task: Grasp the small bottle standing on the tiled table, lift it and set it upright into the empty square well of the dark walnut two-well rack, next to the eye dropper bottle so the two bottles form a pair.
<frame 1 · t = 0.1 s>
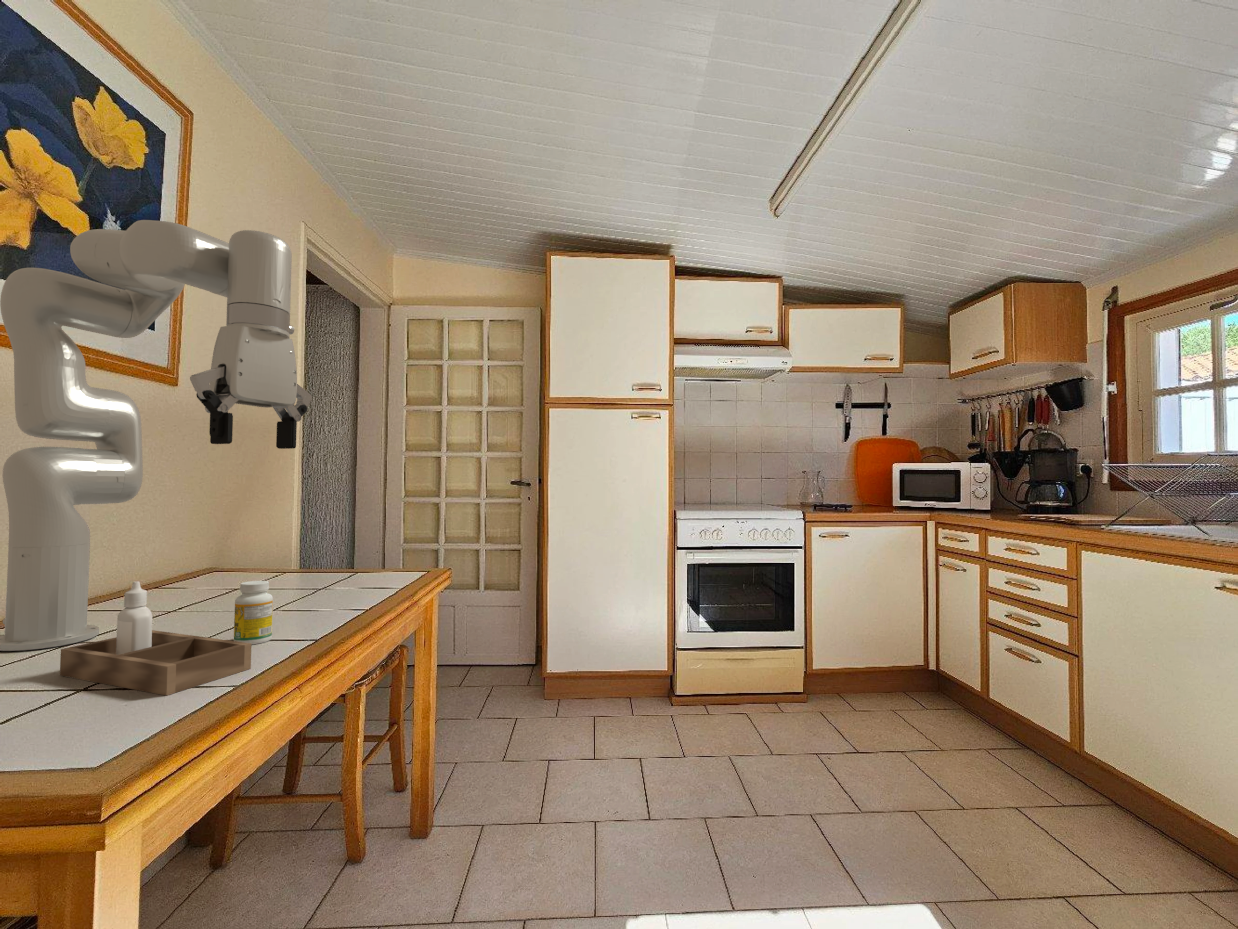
hand: (255, 446, 80), 31 cm above the table, fingers open, 9 cm apart
eye dropper bottle: (133, 669, 81), resting in walnut rack
supplement bottle: (253, 642, 95), on the table
walnut rack: (157, 672, 79), on the table
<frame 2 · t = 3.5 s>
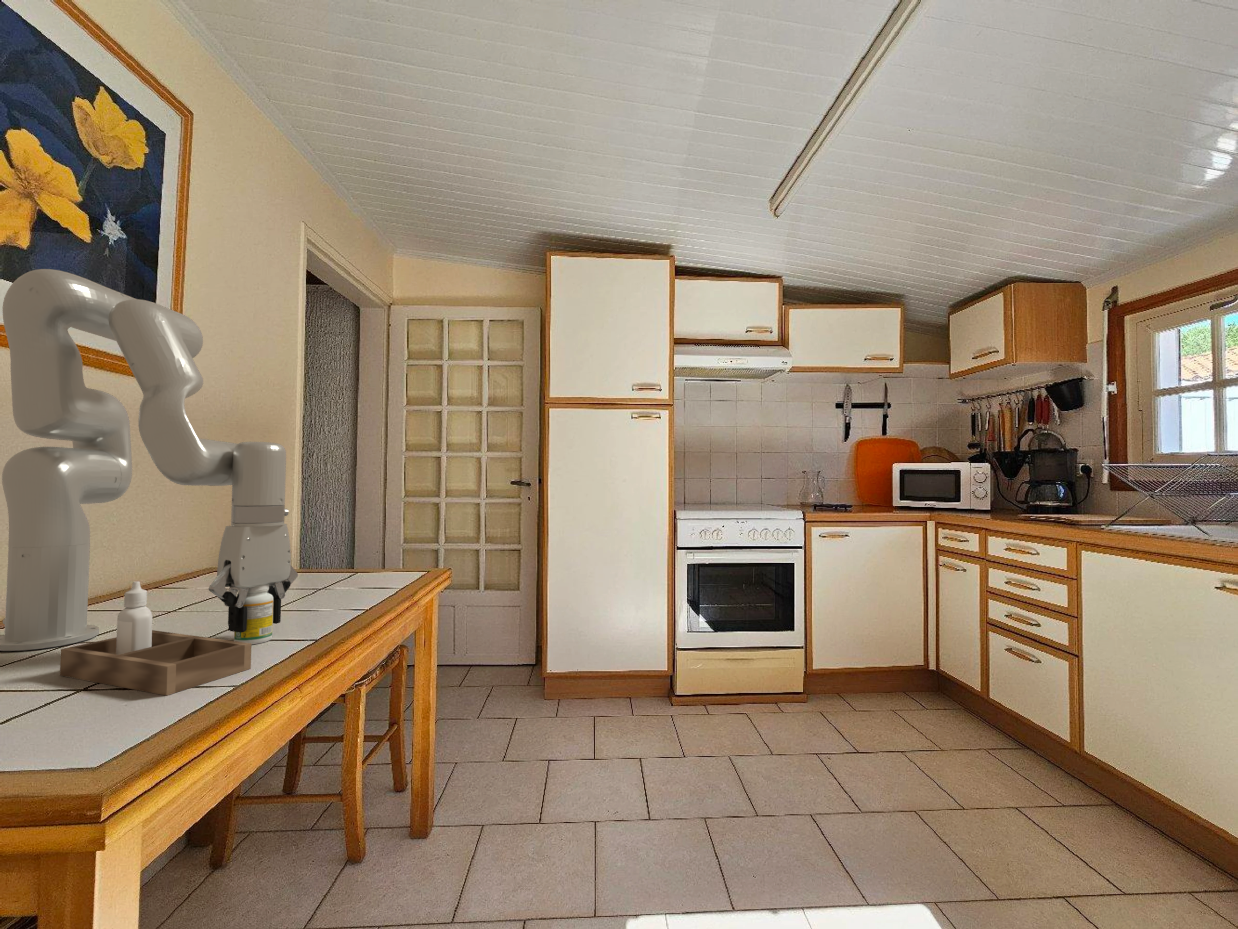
hand: (255, 625, 95), 2 cm above the table, fingers closed on supplement bottle, 5 cm apart
supplement bottle: (253, 642, 95), on the table, touching gripper
everything else where it was.
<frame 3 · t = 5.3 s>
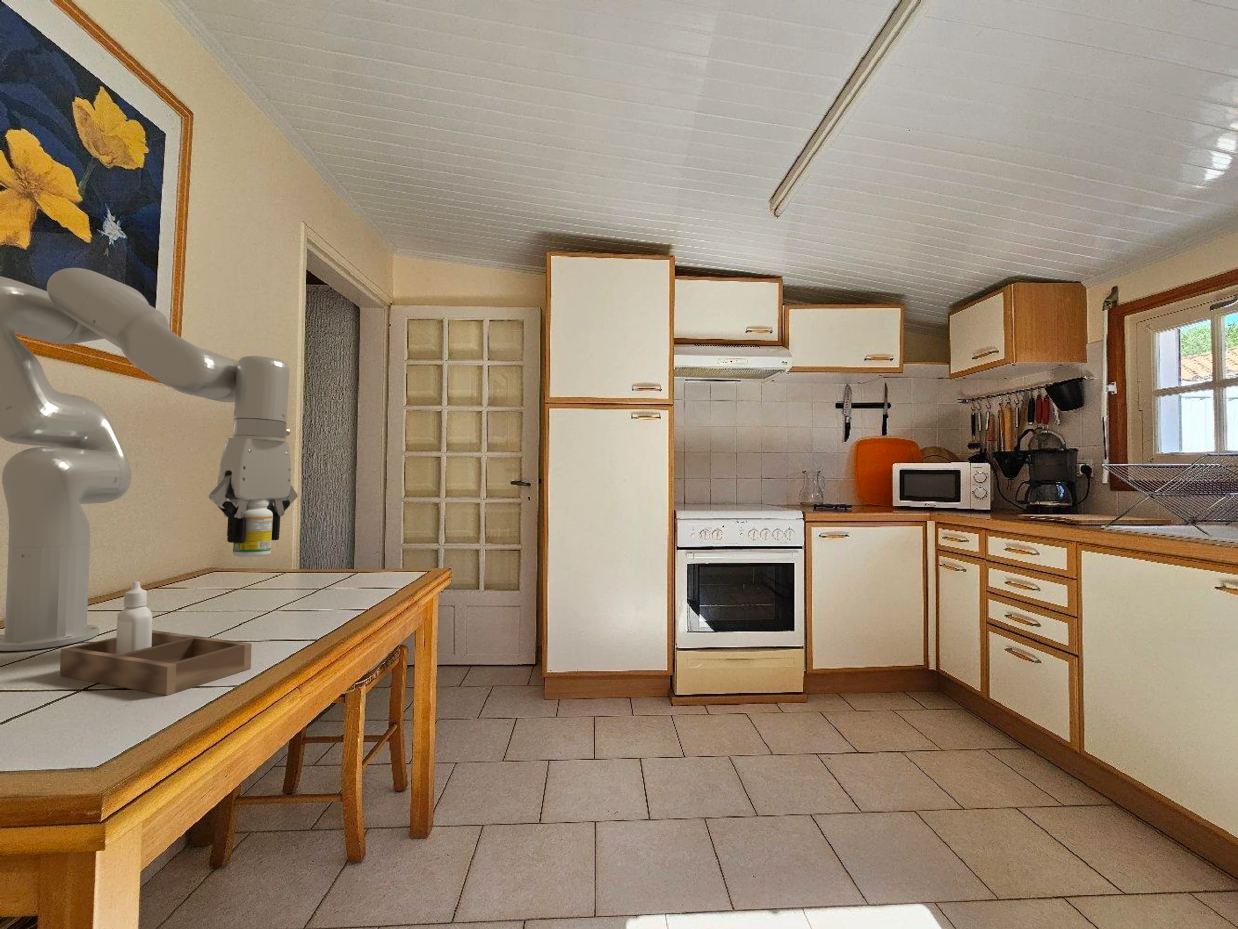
hand: (253, 540, 95), 17 cm above the table, fingers closed on supplement bottle, 5 cm apart
supplement bottle: (251, 556, 95), point 14 cm above the table, touching gripper
everything else where it was.
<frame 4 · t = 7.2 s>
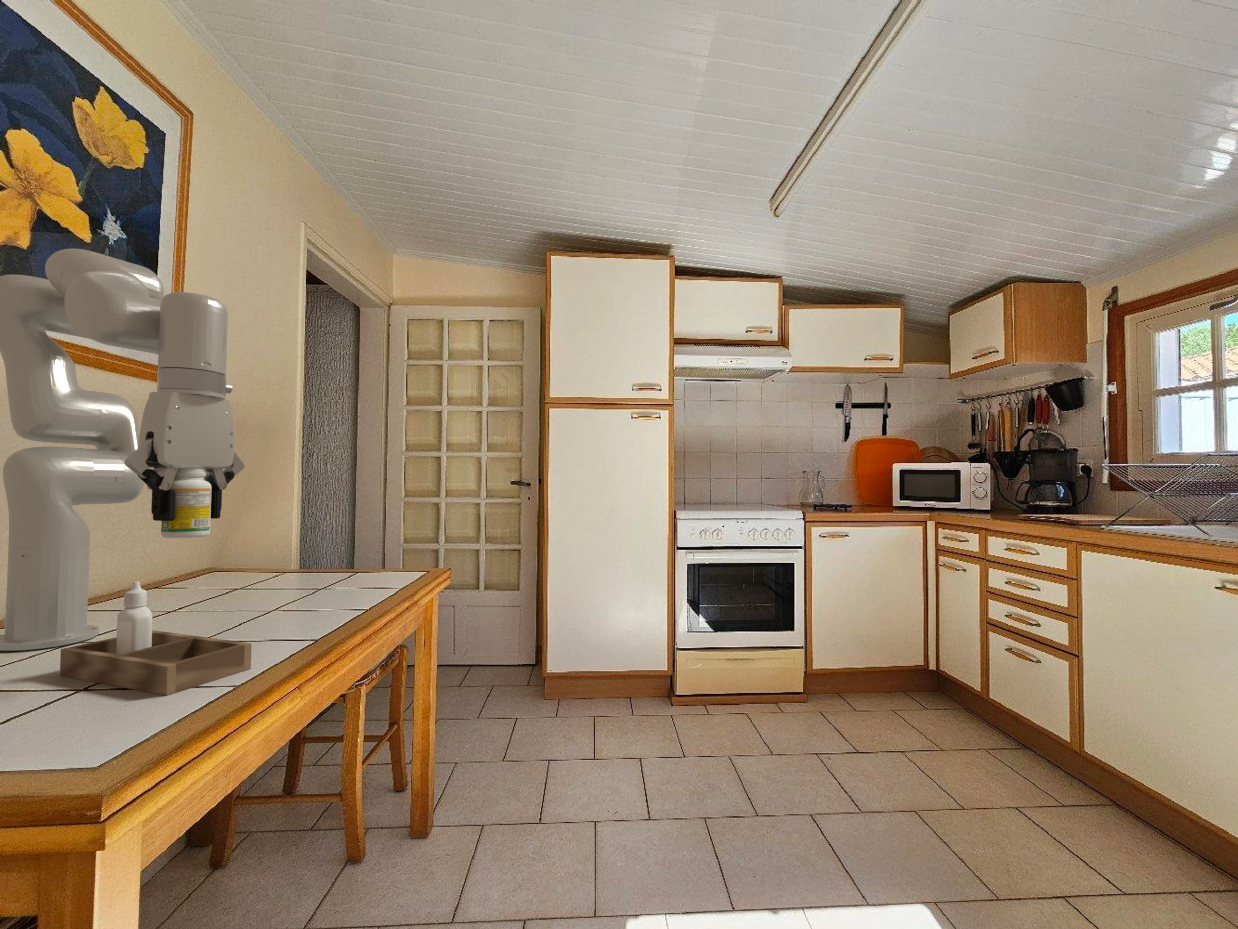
hand: (187, 518, 78), 21 cm above the table, fingers closed on supplement bottle, 5 cm apart
supplement bottle: (185, 537, 78), point 18 cm above the table, touching gripper
everything else where it was.
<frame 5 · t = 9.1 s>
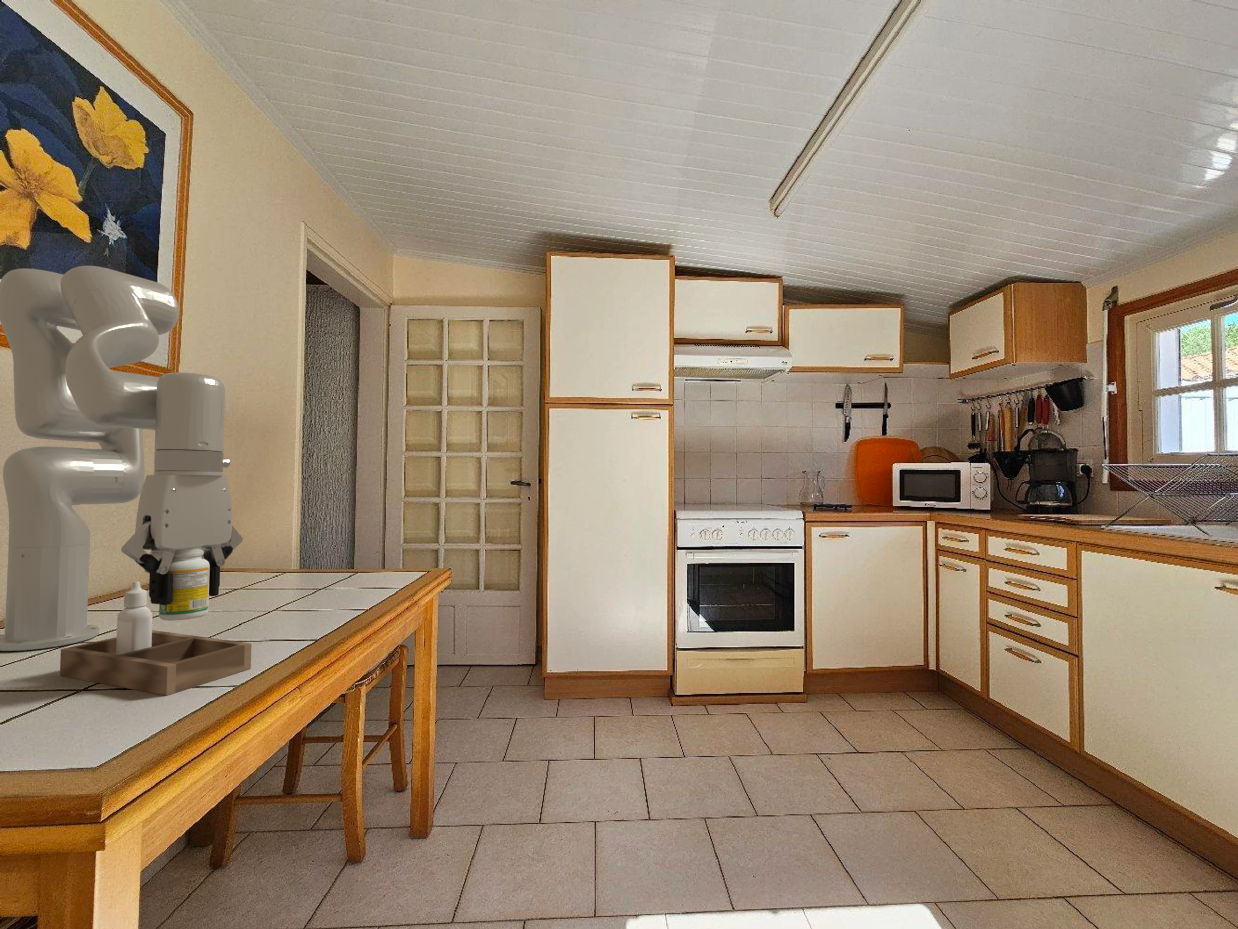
hand: (185, 598, 78), 10 cm above the table, fingers closed on supplement bottle, 5 cm apart
supplement bottle: (184, 618, 78), point 8 cm above the table, touching gripper
everything else where it was.
when the fingers open (4 cm above the table, at t = 10.7 s): supplement bottle drops 2 cm, resting in walnut rack.
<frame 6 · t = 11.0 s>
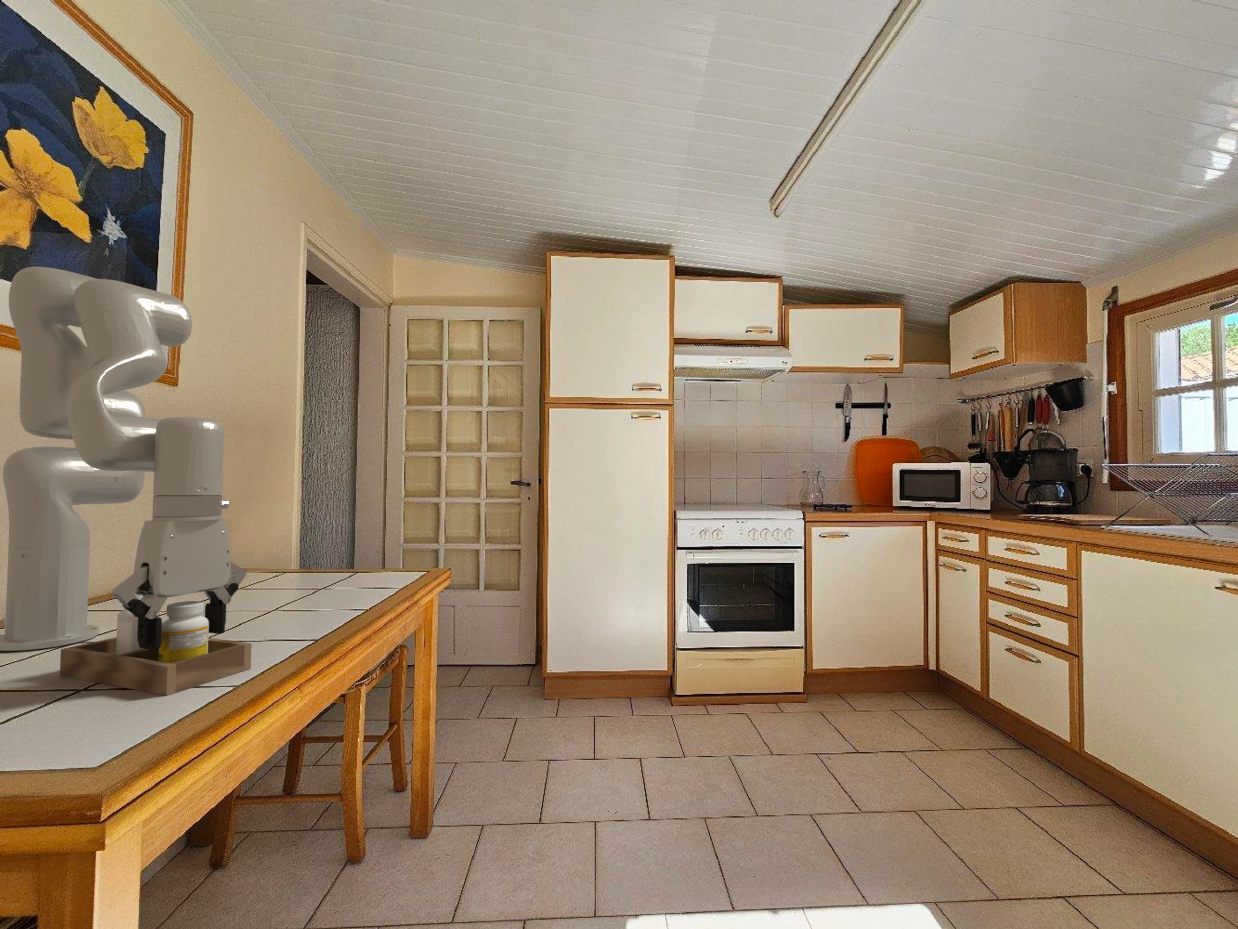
hand: (183, 639, 77), 5 cm above the table, fingers open, 7 cm apart
supplement bottle: (182, 676, 78), resting in walnut rack
everything else where it was.
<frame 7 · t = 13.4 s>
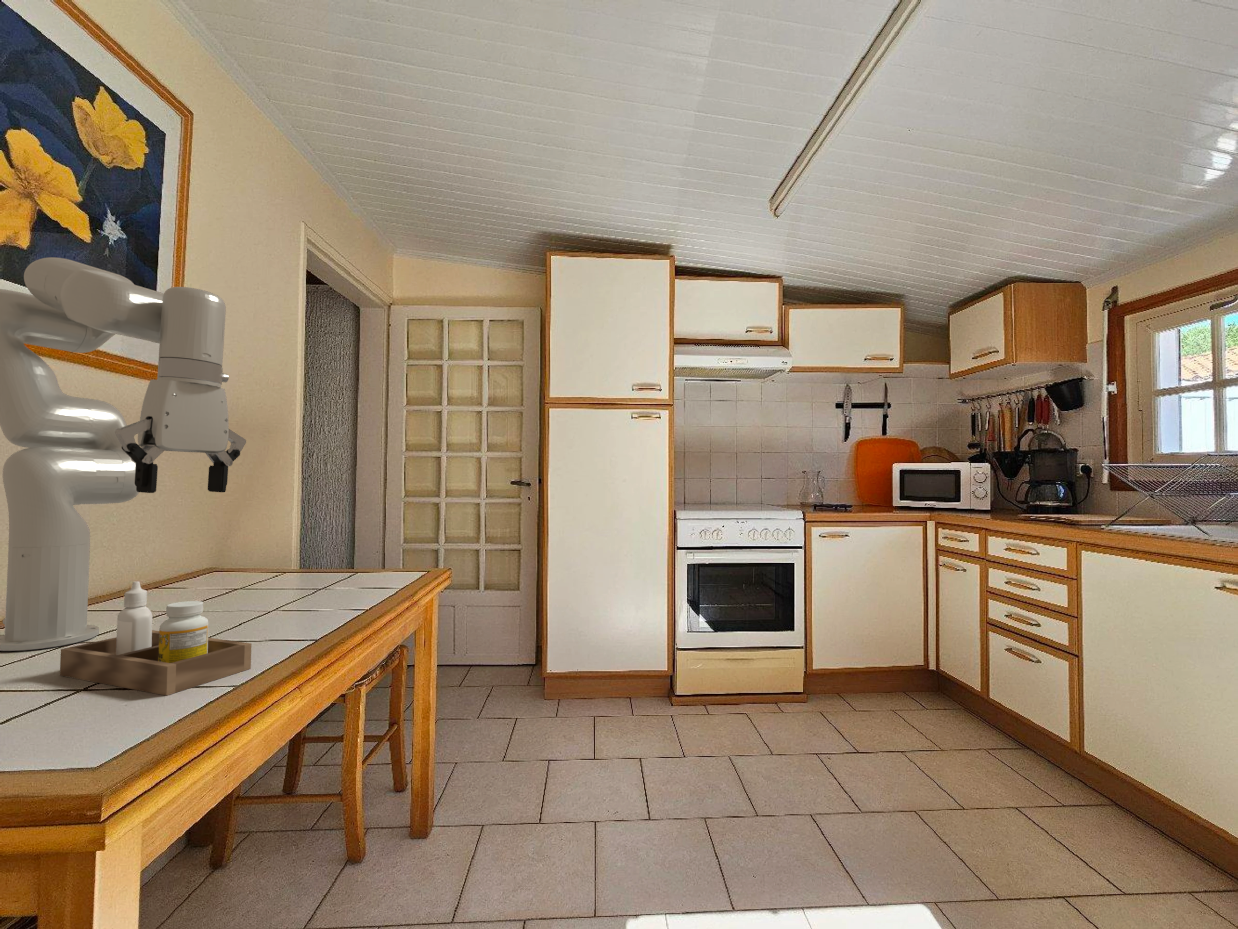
hand: (183, 492, 84), 25 cm above the table, fingers open, 9 cm apart
nothing on the table moved.
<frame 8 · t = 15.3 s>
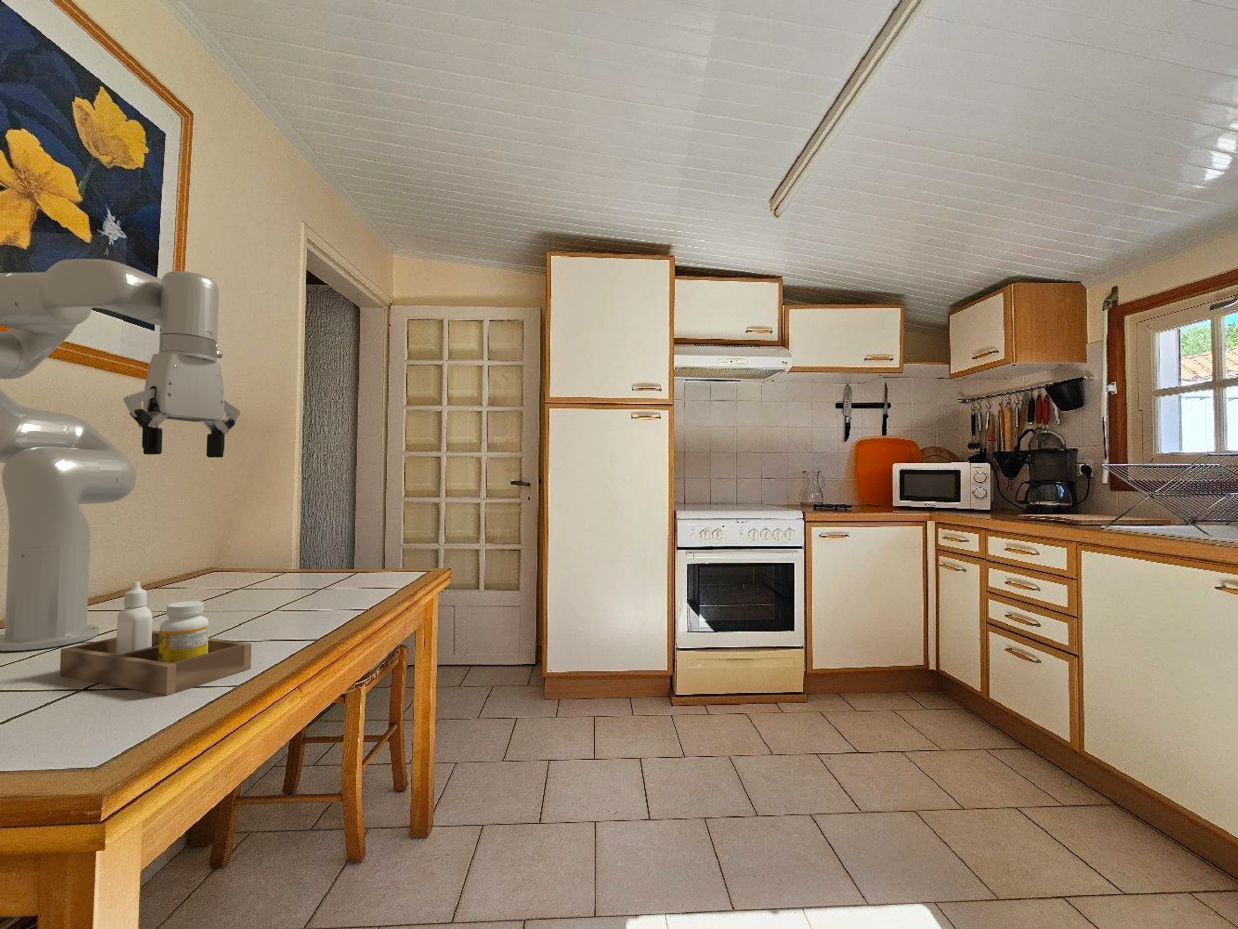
hand: (185, 455, 93), 30 cm above the table, fingers open, 9 cm apart
nothing on the table moved.
at the end: supplement bottle 0.5 cm from the target spot on the walnut rack, point 0.0 cm above the walnut rack's base; supplement bottle tilted 0°; the gripper is holding nothing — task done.
